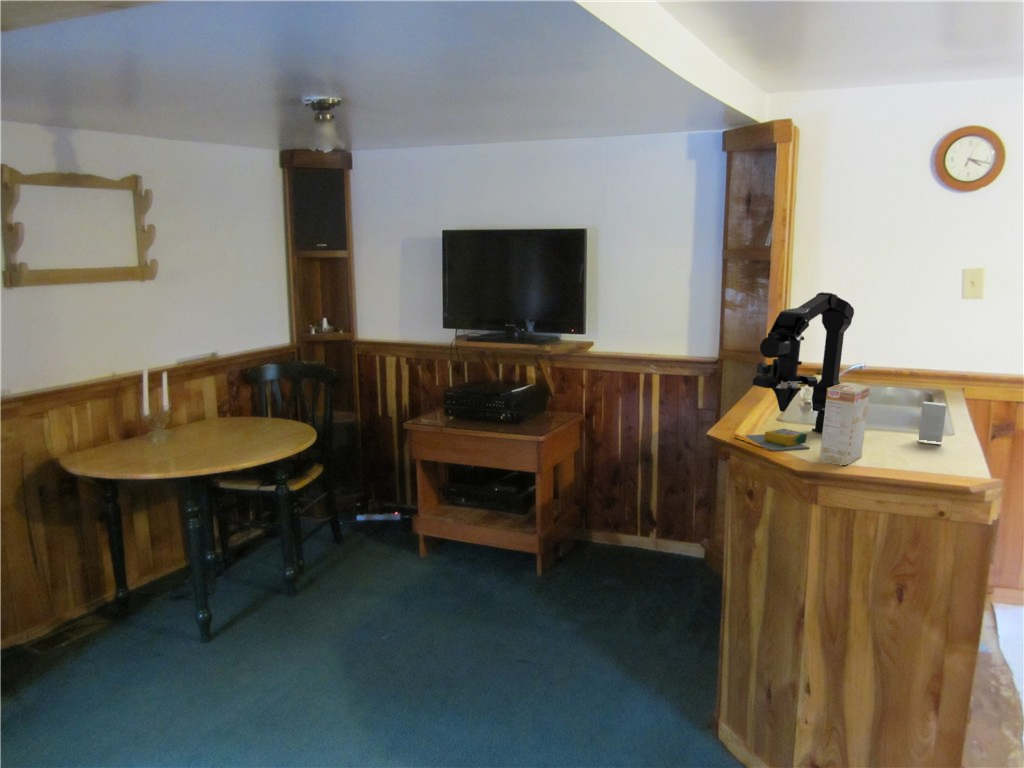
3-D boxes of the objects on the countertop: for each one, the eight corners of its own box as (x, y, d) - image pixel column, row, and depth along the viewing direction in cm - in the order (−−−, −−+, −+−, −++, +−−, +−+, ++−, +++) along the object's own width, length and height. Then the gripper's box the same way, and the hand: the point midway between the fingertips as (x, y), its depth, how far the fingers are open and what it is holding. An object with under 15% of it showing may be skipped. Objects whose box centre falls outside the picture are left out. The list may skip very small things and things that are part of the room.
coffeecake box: (835, 451, 211) (843, 381, 208) (862, 457, 207) (871, 385, 204) (817, 461, 200) (826, 387, 197) (846, 466, 195) (855, 391, 192)
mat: (769, 435, 227) (769, 434, 227) (809, 449, 213) (809, 447, 213) (733, 437, 222) (733, 436, 222) (772, 451, 208) (772, 449, 208)
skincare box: (940, 443, 229) (945, 403, 227) (941, 445, 226) (947, 405, 224) (917, 440, 232) (922, 401, 230) (918, 442, 228) (923, 403, 226)
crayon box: (807, 432, 217) (784, 437, 210) (806, 443, 218) (783, 448, 210) (784, 427, 223) (760, 432, 216) (783, 437, 223) (759, 442, 216)
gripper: (793, 352, 226) (787, 405, 228) (742, 352, 218) (736, 406, 221) (821, 357, 216) (815, 412, 218) (769, 358, 208) (763, 414, 211)
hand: (782, 411), depth 217 cm, fingers closed
